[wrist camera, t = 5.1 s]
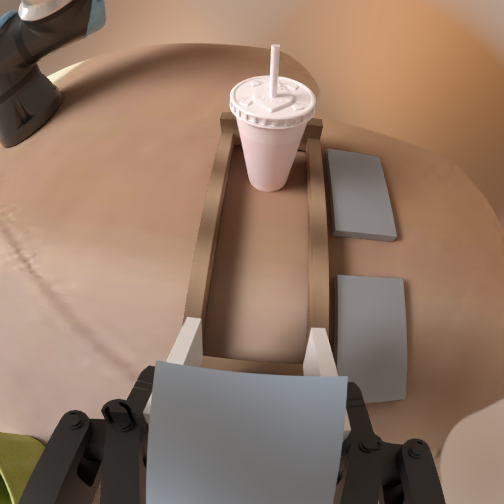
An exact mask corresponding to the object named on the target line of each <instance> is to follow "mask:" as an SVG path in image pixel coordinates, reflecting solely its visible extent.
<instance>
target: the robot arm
mask: <svg viewBox="0 0 504 504" xmlns="http://www.w3.org/2000/svg"><path fill="white" fill-rule="evenodd" d="M21 1H22V3H21V4H20V7H19V11H17V10H16V9H13V10H11V11H9V12H8V13H6V14H5V15H3V16H2V17H1V18H0V143H1V144H2V145H3V147H6V148H7V147H12V146H14V145H16V144H18V143H20V142H21V141H23V140H24V139H26V138H27V137H29V136H30V135H31V134H32V133H34V132H35V131H36V130H37V129H38V128H40V127H41V126H42V125H43V124H44V123H45V122H46V121H47V120H48V119H49V118H50V117H51V116H52V115H53V114H54V112H55V111H56V110H57V108H58V107H59V105H60V104H61V101H62V95H61V93H60V91H59V89H58V88H57V87H56V86H55V85H53V84H52V82H51V81H50V80H49V79H48V78H47V77H46V76H44V75H43V74H42V73H41V71H40V70H39V68H38V65H37V63H36V62H38V61H39V60H41V59H43V58H45V57H47V56H49V55H50V54H52V53H54V52H56V51H58V50H60V49H62V48H64V47H66V46H68V45H70V44H72V43H74V42H76V41H79V40H81V39H83V38H86V37H87V36H88V35H90V34H92V33H94V32H96V31H98V30H100V29H101V28H102V27H103V26H104V25H105V22H106V15H105V5H104V0H21ZM202 359H203V349H202V325H201V319H200V318H192V317H187V318H186V321H185V323H184V325H183V327H182V329H181V331H180V333H179V335H178V337H177V339H176V341H175V344H174V346H173V348H172V350H171V352H170V354H169V356H168V359H167V361H166V362H168V363H174V364H180V365H186V366H193V367H200V365H201V362H202ZM154 372H155V367H154V366H148V367H147V368H146V369H144V370H143V371H142V372H141V374H140V376H139V377H138V379H137V381H136V383H135V385H134V388H133V389H132V391H131V393H130V395H129V396H128V398H127V400H122V399H115V400H111V401H109V402H107V403H106V404H105V405H104V406H103V408H102V410H101V412H102V414H103V416H104V418H105V419H89V418H88V416H87V415H86V414H85V413H83V412H82V411H78V410H73V411H69V412H67V413H65V414H64V415H63V417H62V418H61V420H60V422H59V423H58V425H57V427H56V429H55V430H54V432H53V434H52V436H51V438H50V439H49V441H48V443H47V445H46V447H45V449H44V451H43V453H42V454H41V456H40V458H39V460H38V462H37V464H36V466H35V468H34V470H33V472H32V474H31V476H30V479H29V481H28V483H27V485H26V487H25V489H24V491H23V494H22V496H21V498H20V500H19V503H18V504H92V502H93V499H94V496H95V494H96V491H97V488H98V485H99V482H100V480H101V477H102V480H101V502H100V504H146V472H147V449H148V433H149V420H150V409H151V398H152V389H153V380H154ZM303 372H304V376H338V374H337V370H336V366H335V362H334V358H333V354H332V351H331V347H330V343H329V340H328V336H327V333H326V329H325V328H311V331H310V336H309V340H308V345H307V349H306V354H305V358H304V363H303ZM378 500H379V504H446V503H445V499H444V495H443V491H442V488H441V484H440V480H439V477H438V473H437V470H436V467H435V463H434V460H433V457H432V454H431V451H430V448H429V446H428V444H427V443H426V442H424V441H423V440H420V439H410V440H408V441H407V442H405V443H404V444H403V445H400V444H391V443H386V442H383V441H382V440H381V438H380V437H378V436H377V435H375V434H374V432H373V429H372V426H371V422H370V419H369V415H368V412H367V409H366V407H365V402H364V400H363V396H362V392H361V389H360V388H359V387H358V386H357V385H356V384H355V382H348V383H347V399H346V412H345V423H344V432H343V441H342V450H341V457H340V464H339V471H338V477H337V483H336V489H335V494H334V500H333V504H378Z"/></svg>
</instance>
